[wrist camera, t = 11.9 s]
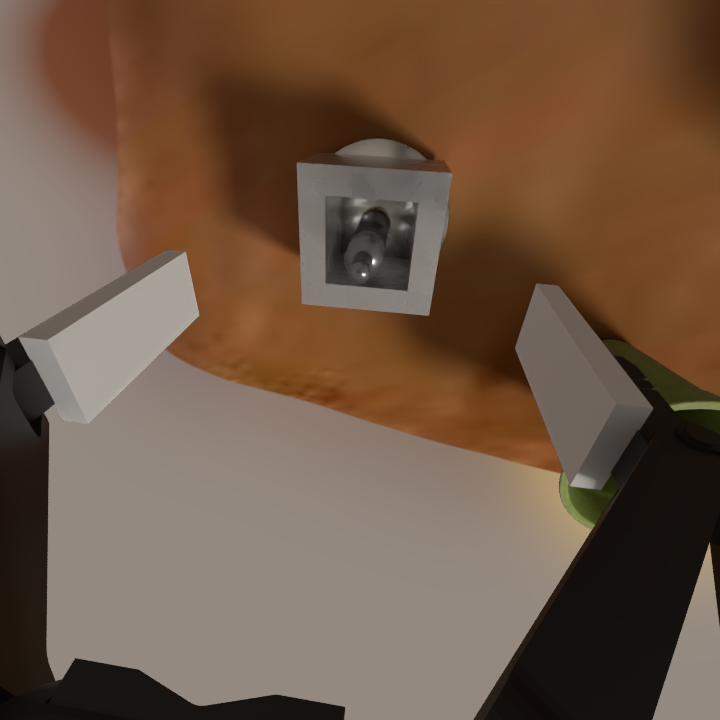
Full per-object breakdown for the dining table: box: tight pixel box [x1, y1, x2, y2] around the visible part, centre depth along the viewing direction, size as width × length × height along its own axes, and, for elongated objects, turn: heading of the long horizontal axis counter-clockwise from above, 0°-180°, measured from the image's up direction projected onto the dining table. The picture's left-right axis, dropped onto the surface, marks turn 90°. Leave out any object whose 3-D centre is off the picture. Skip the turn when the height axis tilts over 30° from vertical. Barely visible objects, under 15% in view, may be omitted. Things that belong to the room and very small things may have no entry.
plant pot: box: [559, 339, 720, 529], centre depth 27 cm, size 12×12×11 cm
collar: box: [297, 152, 452, 316], centre depth 24 cm, size 8×8×6 cm
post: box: [336, 138, 449, 284], centre depth 22 cm, size 10×10×11 cm
